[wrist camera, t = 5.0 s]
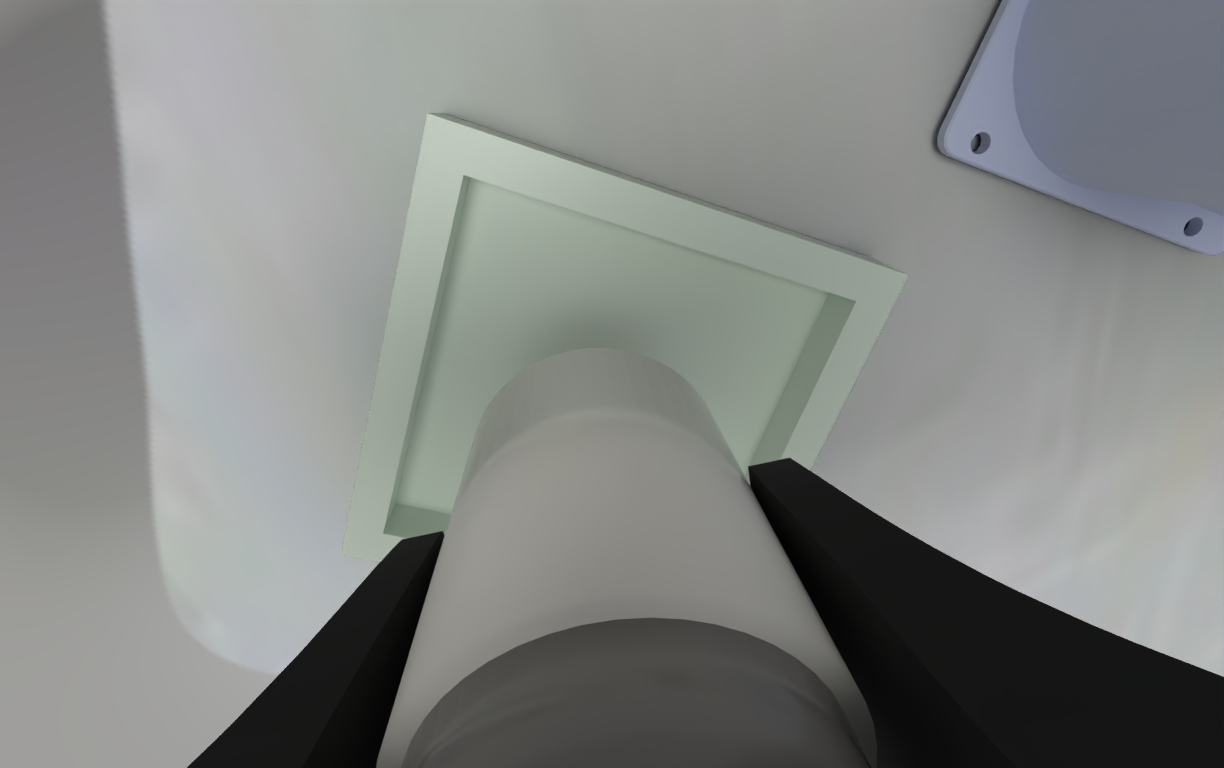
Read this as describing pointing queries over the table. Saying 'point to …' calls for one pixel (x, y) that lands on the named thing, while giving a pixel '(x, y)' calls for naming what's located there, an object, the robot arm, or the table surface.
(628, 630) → the salt shaker
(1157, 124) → the robot arm
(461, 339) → the tray
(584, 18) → the table surface
